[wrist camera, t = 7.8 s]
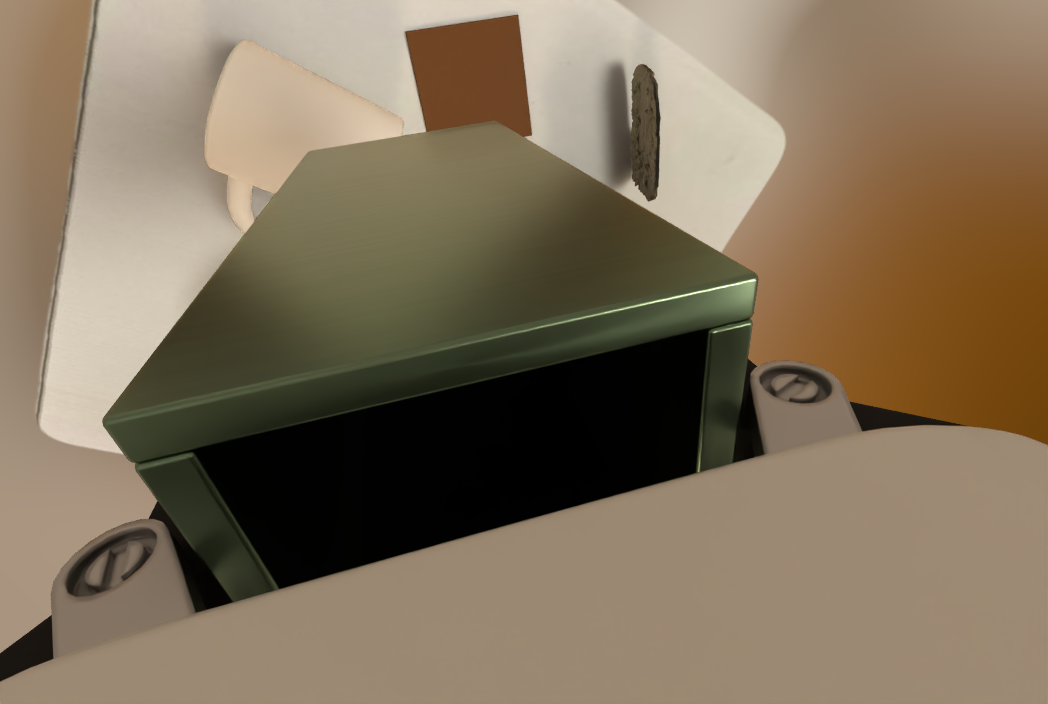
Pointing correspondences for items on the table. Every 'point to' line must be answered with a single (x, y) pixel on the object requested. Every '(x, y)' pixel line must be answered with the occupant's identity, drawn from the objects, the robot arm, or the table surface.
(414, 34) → the coaster
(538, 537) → the robot arm
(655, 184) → the stone fragment
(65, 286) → the table surface
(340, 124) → the mug
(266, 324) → the box
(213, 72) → the table surface
